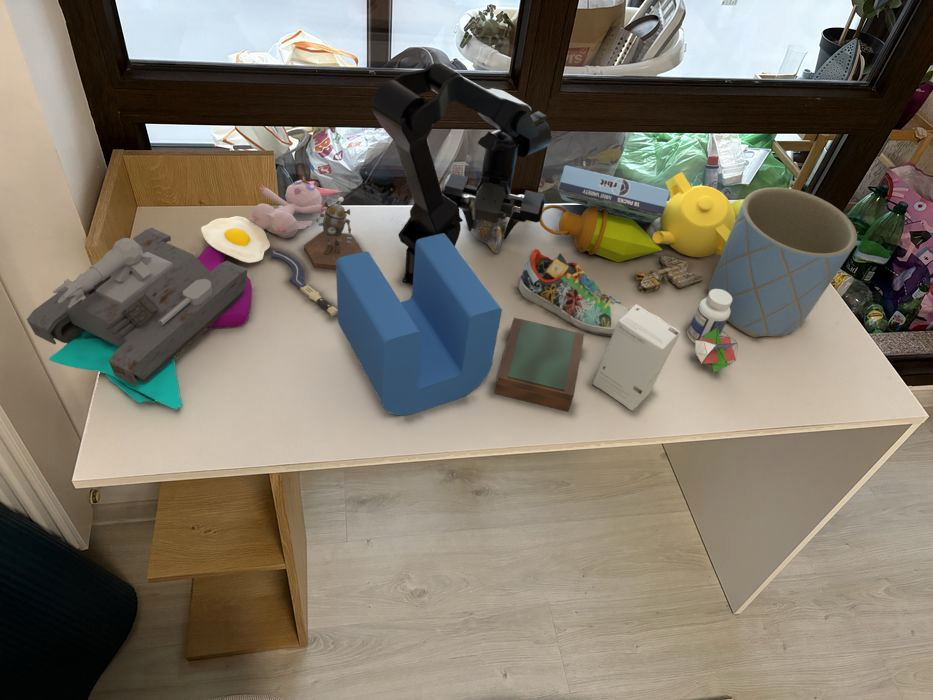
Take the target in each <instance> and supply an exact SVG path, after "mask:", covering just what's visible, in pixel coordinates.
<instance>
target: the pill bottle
mask: <svg viewBox="0 0 933 700" xmlns="http://www.w3.org/2000/svg"><path fill="white" fill-rule="evenodd" d="M731 302H732V296H731V295H730V294H729V293H728V292H726V291H724V290H722V289H713V290H711V291H710V292H709V294H708V293H707V296H706V297H705V298H702V299H701V300H700V302H699V304H698V306H697V308H696V310H695V311H694V314H693V317H692V319H691V320H690V324H689V326H688V328H687V330H686V331H687V332H686V333H687V337H688V339H689V340H690V341H691V342H692V343H694V344H695V340H696V339H697V340H702V339H705V337H703V335H705V334H707V333H709V332H710V331H712V330H714V329H715V328H717V327H718V331H719V334H720V335H721V334H722V331H723V330H724V328H725V326H726V324H727V322H728V321H727V320H728V318H729V316H730V313H731V310H730V305H731ZM721 330H722V331H721ZM700 337H701V338H700ZM698 338H699V339H698Z"/></svg>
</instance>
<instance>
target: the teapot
mask: <svg viewBox="0 0 933 700" xmlns="http://www.w3.org/2000/svg"><path fill="white" fill-rule="evenodd" d="M665 184H666V188H667V190H669V191H670V192H669V196H670V197H671V199H670V197H669V199H670V200H667V203H666V206H665V210H664V213H663V216H661V217H659V219H660V220H659V226H660V227H659V228H660V230H657V231H655V232H653V234H652V237H651V239H652V240H653V241H654V242H655V243H656V244H663V245H664V244H665V245H669V246H670V247H671V248H672V249H673V250H675V251H676V252H678V253H679V254H681V255H684V256H688V257H694V258H704V257H708V256H711V255H714V254H716V255H718V256H720V257H721V255H722V252H723V250H724V247H725V245H726V242H727V240H728V237H729V235H730V232H731V230H732V227H733V225H734V223H735V213H734V210H733V207H732V205H731V203H732V202H731V201H730V200H729V199H728V197H727V196H726V195H725V194H724V193H723V192H721V191H720V190H718V189H717V188H715V187H712V186H708V185H694V186H692V185H691V184H690V181H688V179H687V177H686V176H685V174H684V172H683V171H681V172H679V173H677V174H675V175H674V176H672V177H670V178H669V179H668V180H666V181H665Z"/></svg>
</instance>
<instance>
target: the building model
mask: <svg viewBox="0 0 933 700" xmlns="http://www.w3.org/2000/svg"><path fill="white" fill-rule="evenodd" d="M659 263H660V264H662V266H661V267H662V269H659V270H657V271H656V270H655V269H652V270H650V271H649V273H647V272H646V271H640V272H638V273H636V274H635V276H634V279H635V280H638V281H641V282H640V283H639V287H638V290H639V291H640V292H641V293H644V294H646V293H651V292H654V291H658V290H659V289H660V286H661V285H662V284H661V283H662V282H665V281H670V282H671V283H672V284H673V285H675V286H676V287H677V288H679V289H683V288H684V287H688V286H689V285H692V284H696V283H699V282H702V281H703V279H704V276H702V275H701V274H696V273H695V272H691V271H690V272H687V270H688V267H689V264H690V261H688V260H683V259H679V258H677V257H675V256H670V255H669V256H667V255H661V256H659ZM661 281H662V282H661Z"/></svg>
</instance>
